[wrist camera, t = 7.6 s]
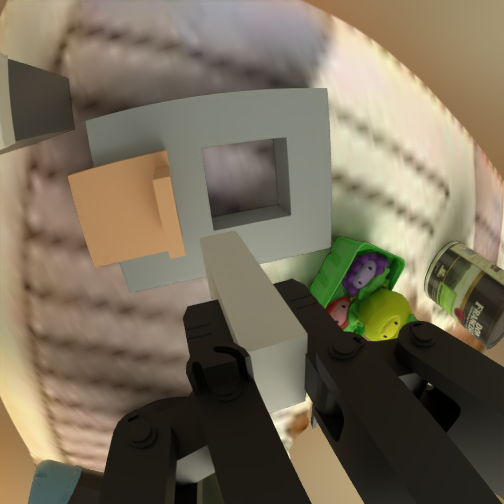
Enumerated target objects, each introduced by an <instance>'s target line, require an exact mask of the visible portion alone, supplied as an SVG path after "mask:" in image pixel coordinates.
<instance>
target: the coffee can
mask: <svg viewBox="0 0 504 504" xmlns="http://www.w3.org/2000/svg"><path fill="white" fill-rule="evenodd" d="M425 293H426V295H427V296H428V297H429V298H430V299H432V300H433V301H434V302H436V303H437V304H438V305H439V306H440V307H441V308H443V309H444V310H445V311H446V312H447V313H448V314H450V315H451V316H452V317H453V318H454V319H455V320H457V321H458V322H459V323H460V324H461V325H462V326H463V327H464V328H466V329H467V330H468V331H469V332H470V333H471V334H472V335H473V336H475V337H476V338H477V339H478V340H479V341H480V342H481V343H482V344H483V345H484V347H485V348H486V349H491V348H492V347H494V346H495V345H496V344H497V343H498V342H499V341H500V340H501V339H502V338H503V336H504V270H502V269H501V268H499V267H498V266H496V265H495V264H493V263H492V262H490V261H489V260H487V259H485V258H484V257H482V256H481V255H479V254H478V253H476V252H474V251H473V250H471V249H470V248H468V247H466V246H465V245H463V244H462V243H461V242H459V241H453V242H450V243H449V244H447V245H446V246H445V247H444V248H443V249H442V250H441V251H440V252H439V253H438V254H437V256H436V257H435V259H434V260H433V262H432V264H431V266H430V268H429V270H428V273H427V276H426V279H425Z"/></svg>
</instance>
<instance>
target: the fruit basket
mask: <svg viewBox="0 0 504 504" xmlns="http://www.w3.org/2000/svg"><path fill="white" fill-rule="evenodd" d="M404 266H405V261H404V259H402V258H400V257H398V256H396V255H393V254H391V253H389V252H387V251H385V250H383V249H380V248H378V247H376V246H374V245H372V244H370V243H367V242H363V241H360V242H358V241H355V240H351V239H348V238H344V237H341V236H338V237H337V238H336V240H335V242H334V244H333V246H332V248H331V253H329V255H328V256H327V257H326V259H325V261H324V263H323V264H322V266H321V269H320V273H319V274H318V275H317V276H316V277H315V279H314V281H313V283H312V285H311V286H310V289H309V291H310V292H311V293H312V295H313V296H314V297H315V298H316V299H317V300H318V301H319V303H320V304H321V305H322V306H323V307H324V308H325V309H326V311H327V312H328V313H329V314H330V315H331V316H332V318H333V319H334V320H335V321H336V322H337V324H338V325H339V326H340V327H341V328H342V329H343V331H350V332H353V333H356V334H359V335H361V336H363V334H364V333H365V336H366V337H367V338H369V339H370V340H372V341H380V340H387V339H394V338H397V337H398V333H399V331H400V329H401V328H402V326H403V325H405V324H407V323H409V322H412V321H418V320H417V319H416V317H415V316H414V314H412V311H411V308H410V305H409V303H408V301H407V300H406V298H405V297H404V296H403V295H401V294H399V293H397V292H394V291H392V289H393V287H394V285H395V284H396V282H397V280H398V278H399V277H400V275H401V273H402V271H403V269H404Z"/></svg>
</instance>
